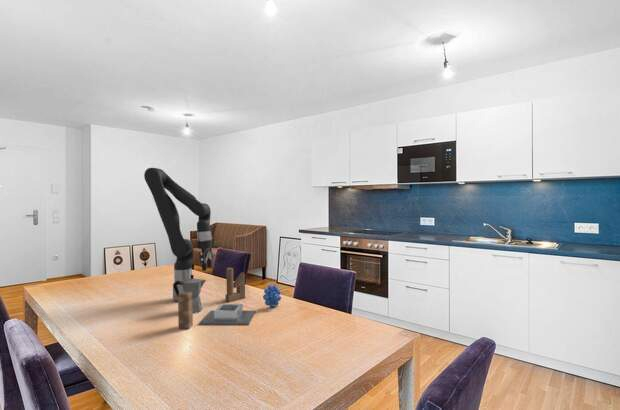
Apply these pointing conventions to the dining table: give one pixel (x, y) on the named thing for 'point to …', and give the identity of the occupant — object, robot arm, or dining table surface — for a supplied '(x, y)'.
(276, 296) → the grapes
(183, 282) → the coffeepot
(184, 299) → the walnut post
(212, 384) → the dining table surface
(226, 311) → the keeper cradle
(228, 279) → the brown wooden pegged bracket
